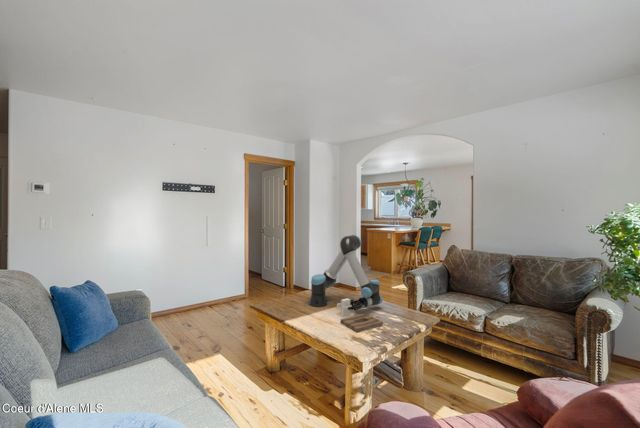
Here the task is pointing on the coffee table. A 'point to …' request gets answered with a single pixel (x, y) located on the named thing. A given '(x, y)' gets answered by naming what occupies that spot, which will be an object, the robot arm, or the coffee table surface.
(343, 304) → the tall cream pillar
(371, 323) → the brown slotted base plate
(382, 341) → the coffee table surface
